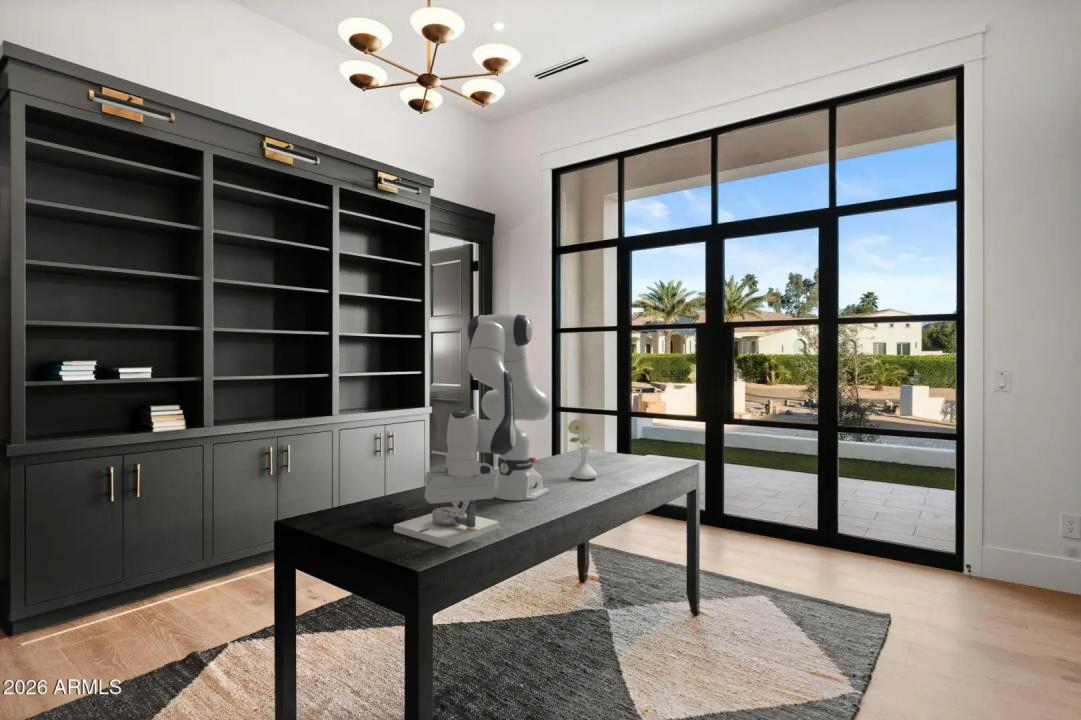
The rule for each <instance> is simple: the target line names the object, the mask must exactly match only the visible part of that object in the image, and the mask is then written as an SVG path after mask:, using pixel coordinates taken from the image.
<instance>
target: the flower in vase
mask: <svg viewBox="0 0 1081 720" xmlns="http://www.w3.org/2000/svg"><path fill="white" fill-rule="evenodd" d="M586 429H587V426H586V422H585V421H584V420H582V419H579V418H577V419H573V420H571V421H570V422H569V423H568V425H567V430H568V433H571V434H573V435H577V436H578V437H575V436H574V437H572V438H570V439H569V442H571V443H577V442H580V443H581V444H579V445H578V448H579V450H580V453H581V459H580V463H579V464H578V465H577V466H576V467H575V468H573V469H572V470H571V471H570V473H569V474H570V476H571V477H572V478H574V479H579V480H590V479H591V480H593V479H594V478H596V477H597V476H598V474H597V472H596V471H595V469H594V468H593V467H592V466H590V465H589V464H588V461H587V460H588V459H587V458H588V451H589V449H590V448H591V445H589V444H585V443H587V442H589V441H590V439H591V436H590V437H588V438H584V439H583V440H581V438H580V434H581V433H583V432H584V431H585V430H586Z"/></svg>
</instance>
